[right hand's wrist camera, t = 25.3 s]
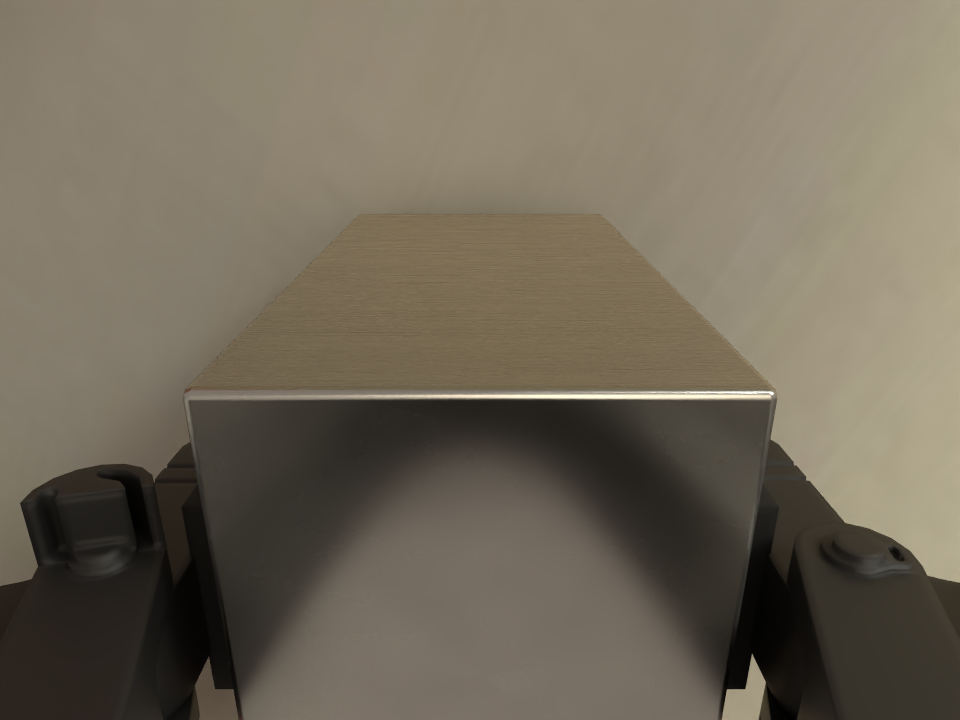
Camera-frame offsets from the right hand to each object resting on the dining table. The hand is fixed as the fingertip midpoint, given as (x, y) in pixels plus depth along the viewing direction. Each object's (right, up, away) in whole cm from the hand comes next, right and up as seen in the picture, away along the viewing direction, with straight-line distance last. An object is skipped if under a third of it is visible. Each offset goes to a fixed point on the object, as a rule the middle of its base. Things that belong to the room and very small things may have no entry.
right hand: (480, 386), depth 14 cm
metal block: (0, +1, +2) cm, 2 cm away
